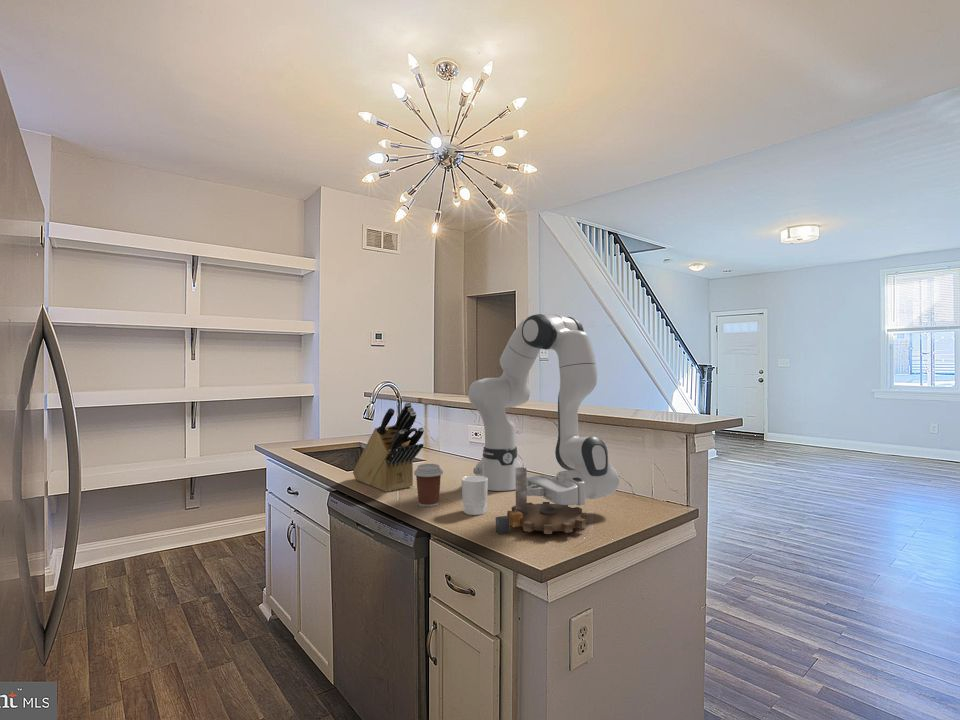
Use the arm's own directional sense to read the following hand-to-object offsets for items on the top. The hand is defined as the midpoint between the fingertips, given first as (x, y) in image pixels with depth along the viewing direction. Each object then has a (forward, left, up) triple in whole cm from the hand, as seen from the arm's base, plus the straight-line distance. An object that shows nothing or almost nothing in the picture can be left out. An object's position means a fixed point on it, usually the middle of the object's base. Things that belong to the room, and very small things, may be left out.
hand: (524, 491), depth 140 cm
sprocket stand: (+4, -1, -9) cm, 10 cm away
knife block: (-58, -25, -9) cm, 64 cm away
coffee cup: (-30, -18, -9) cm, 36 cm away
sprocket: (+4, +5, -7) cm, 10 cm away
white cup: (-16, -8, -9) cm, 20 cm away
